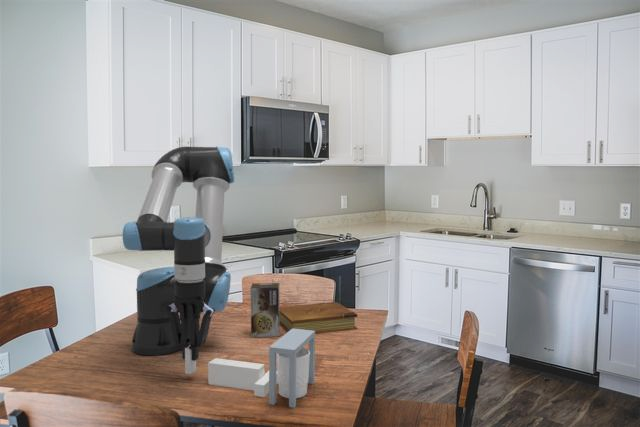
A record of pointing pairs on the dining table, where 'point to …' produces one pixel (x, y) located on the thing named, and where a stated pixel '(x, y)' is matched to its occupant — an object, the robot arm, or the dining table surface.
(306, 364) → the white cup
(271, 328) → the food box
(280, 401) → the dining table surface
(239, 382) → the white l-shaped block
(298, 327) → the diary
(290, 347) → the bridge
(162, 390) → the dining table surface
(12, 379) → the dining table surface
